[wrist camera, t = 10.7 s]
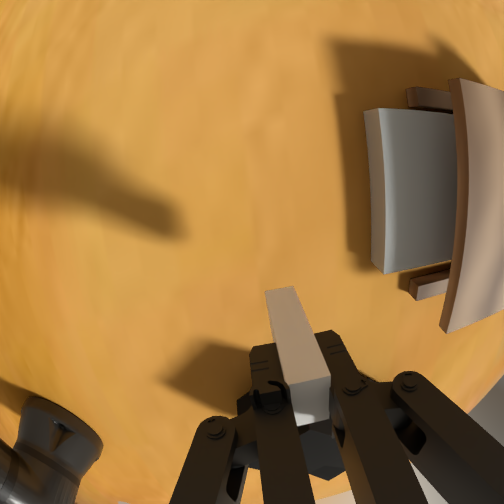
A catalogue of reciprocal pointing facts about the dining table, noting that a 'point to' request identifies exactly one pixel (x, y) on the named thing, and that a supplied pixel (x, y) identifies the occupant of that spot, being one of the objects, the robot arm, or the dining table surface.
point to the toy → (311, 445)
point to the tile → (411, 187)
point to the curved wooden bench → (471, 204)
